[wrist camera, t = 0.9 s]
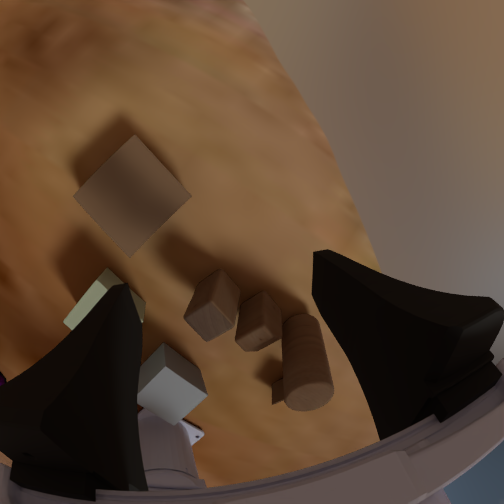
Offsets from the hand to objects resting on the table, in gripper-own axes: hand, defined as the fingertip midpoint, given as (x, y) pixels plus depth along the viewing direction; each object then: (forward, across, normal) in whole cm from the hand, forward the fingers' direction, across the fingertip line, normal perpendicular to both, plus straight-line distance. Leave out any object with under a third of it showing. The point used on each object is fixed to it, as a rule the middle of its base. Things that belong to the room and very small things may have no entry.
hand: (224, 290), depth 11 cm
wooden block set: (+14, -4, +16) cm, 22 cm away
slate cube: (+12, +7, +17) cm, 22 cm away
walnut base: (+17, +6, 0) cm, 18 cm away
